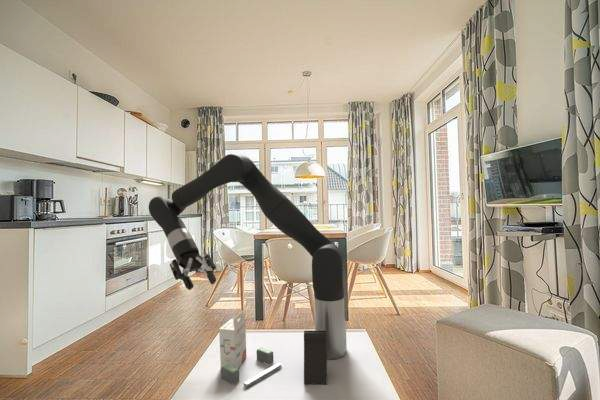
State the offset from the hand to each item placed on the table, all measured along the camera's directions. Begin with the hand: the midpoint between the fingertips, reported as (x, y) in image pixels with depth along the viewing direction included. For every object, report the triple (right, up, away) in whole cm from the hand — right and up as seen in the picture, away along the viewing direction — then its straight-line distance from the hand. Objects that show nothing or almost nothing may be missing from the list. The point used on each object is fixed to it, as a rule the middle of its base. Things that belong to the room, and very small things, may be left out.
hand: (203, 285), depth 106 cm
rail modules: (+16, -21, -11) cm, 29 cm away
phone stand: (+35, -21, -15) cm, 43 cm away
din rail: (+21, -21, -15) cm, 33 cm away
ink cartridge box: (+11, -21, -7) cm, 25 cm away
